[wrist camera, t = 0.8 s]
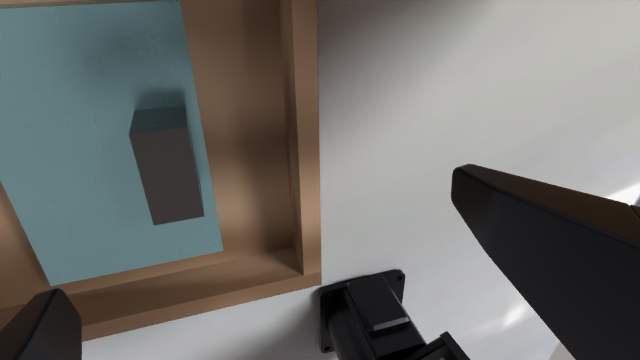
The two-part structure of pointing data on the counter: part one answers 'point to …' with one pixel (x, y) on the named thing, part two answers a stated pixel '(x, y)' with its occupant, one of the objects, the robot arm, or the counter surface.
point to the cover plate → (103, 136)
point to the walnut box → (218, 178)
